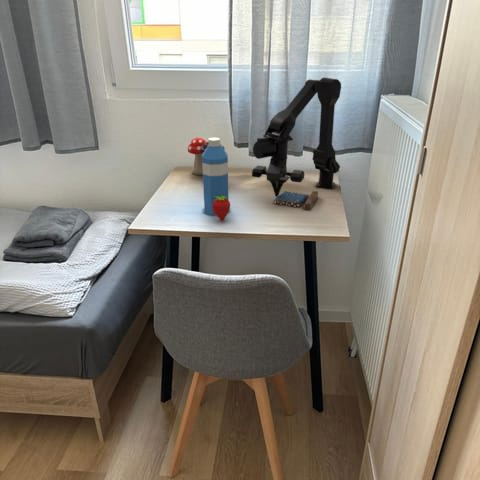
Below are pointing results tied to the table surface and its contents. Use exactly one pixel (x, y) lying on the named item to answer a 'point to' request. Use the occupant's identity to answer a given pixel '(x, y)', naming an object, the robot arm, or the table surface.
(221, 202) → the strawberry
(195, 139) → the decorative mushroom
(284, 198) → the woven mat
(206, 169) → the water bottle
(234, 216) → the table surface
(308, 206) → the bar
